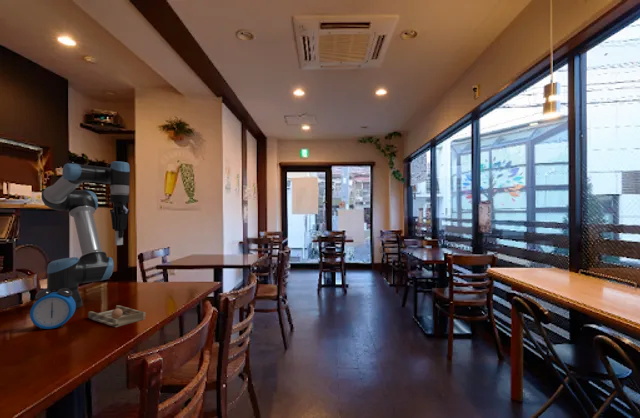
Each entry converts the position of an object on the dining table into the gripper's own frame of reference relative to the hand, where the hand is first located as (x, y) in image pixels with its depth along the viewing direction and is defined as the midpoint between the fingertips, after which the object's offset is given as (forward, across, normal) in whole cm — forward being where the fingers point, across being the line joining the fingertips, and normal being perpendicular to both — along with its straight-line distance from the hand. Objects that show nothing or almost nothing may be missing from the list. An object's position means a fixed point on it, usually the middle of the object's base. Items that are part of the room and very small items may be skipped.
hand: (119, 244), depth 150 cm
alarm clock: (+31, +3, -25) cm, 40 cm away
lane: (+30, +13, -7) cm, 34 cm away
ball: (+28, +14, -7) cm, 32 cm away
